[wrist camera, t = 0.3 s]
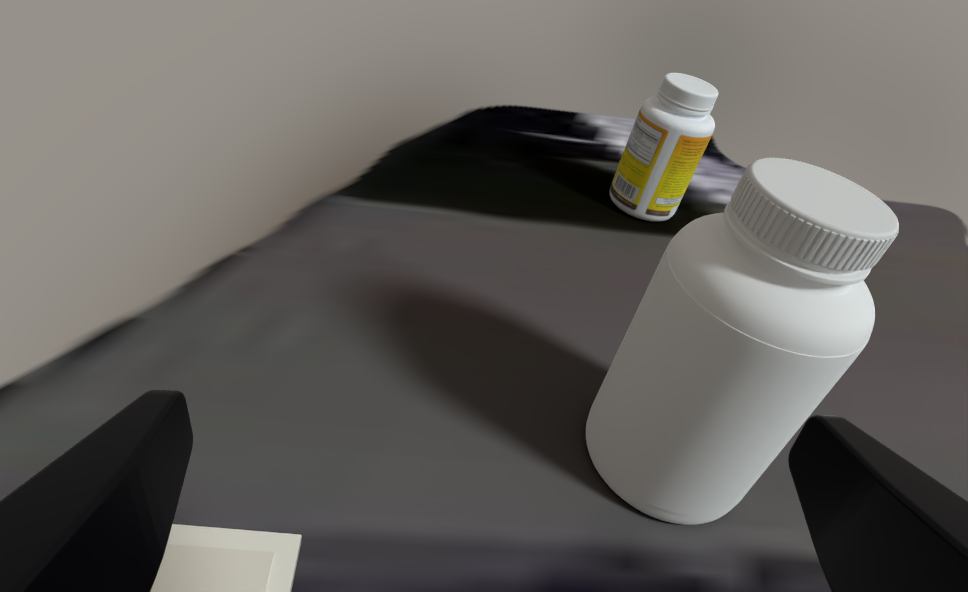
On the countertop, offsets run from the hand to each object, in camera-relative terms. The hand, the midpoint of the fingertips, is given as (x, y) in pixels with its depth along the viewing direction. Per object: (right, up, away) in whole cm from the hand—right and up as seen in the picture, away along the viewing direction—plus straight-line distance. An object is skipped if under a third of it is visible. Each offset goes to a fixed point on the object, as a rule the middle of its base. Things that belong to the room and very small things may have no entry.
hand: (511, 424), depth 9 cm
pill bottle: (+8, -6, +22) cm, 24 cm away
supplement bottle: (+12, +9, +42) cm, 45 cm away
